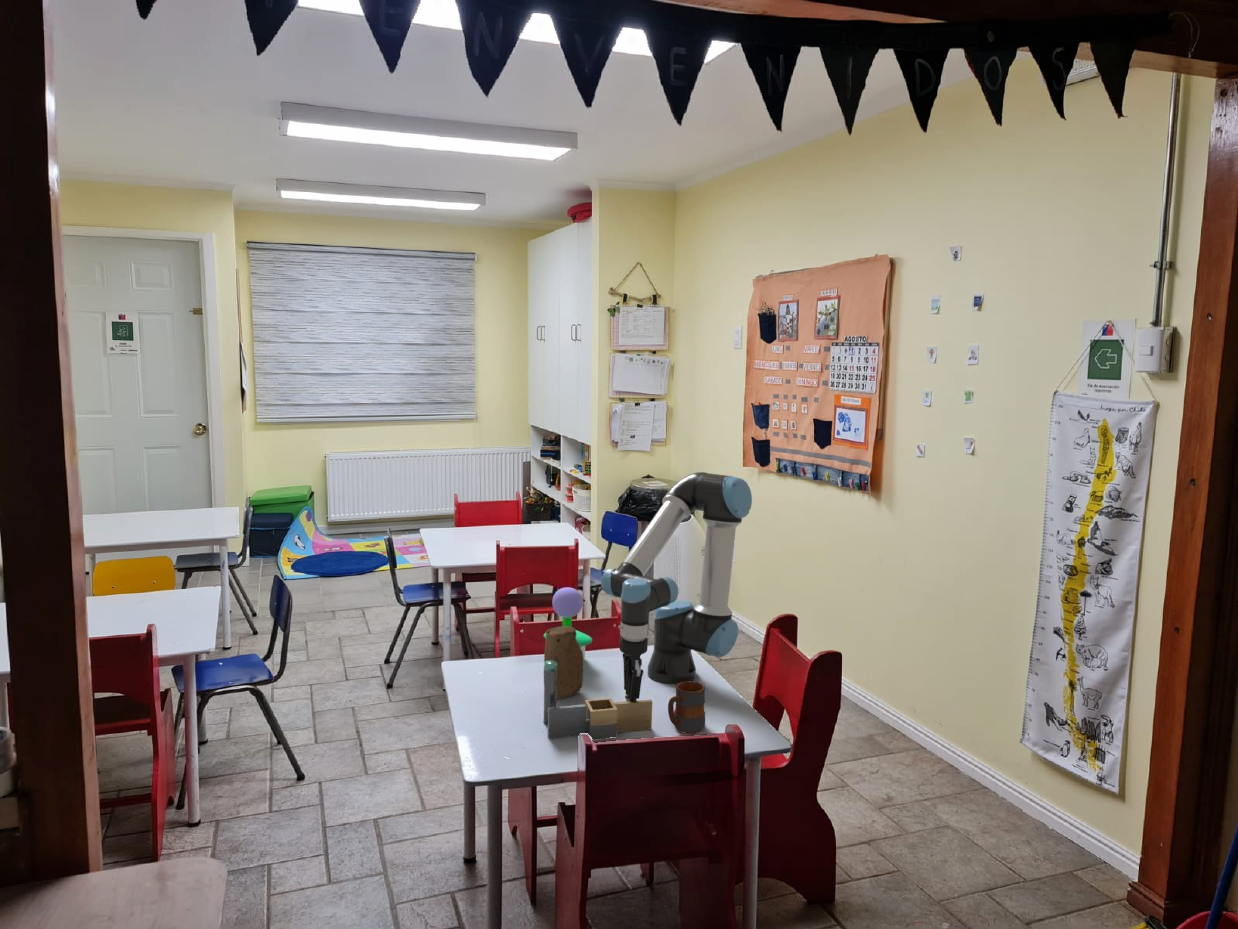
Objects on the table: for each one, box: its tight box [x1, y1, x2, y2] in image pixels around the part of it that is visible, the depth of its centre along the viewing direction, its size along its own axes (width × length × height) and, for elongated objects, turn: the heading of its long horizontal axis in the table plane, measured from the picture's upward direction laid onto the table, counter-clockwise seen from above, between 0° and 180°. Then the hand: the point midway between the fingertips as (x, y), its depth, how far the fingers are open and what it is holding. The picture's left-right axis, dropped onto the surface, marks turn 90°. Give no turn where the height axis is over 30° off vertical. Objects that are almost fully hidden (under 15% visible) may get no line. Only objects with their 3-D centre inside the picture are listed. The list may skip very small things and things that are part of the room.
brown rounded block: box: [543, 626, 584, 699], centre depth 252 cm, size 11×8×20 cm
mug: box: [667, 680, 706, 734], centre depth 232 cm, size 9×12×12 cm
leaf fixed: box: [547, 704, 618, 741], centre depth 227 cm, size 18×7×8 cm, turn 104°
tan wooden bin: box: [584, 697, 653, 733], centre depth 229 cm, size 18×7×8 cm, turn 104°
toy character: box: [543, 586, 593, 660], centre depth 276 cm, size 15×12×25 cm
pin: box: [543, 660, 558, 726], centre depth 233 cm, size 3×3×17 cm
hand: (630, 719), depth 234 cm, fingers closed
